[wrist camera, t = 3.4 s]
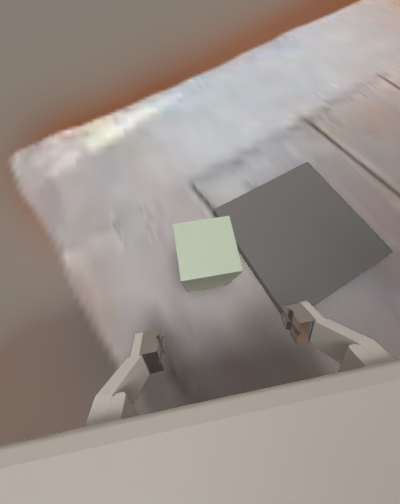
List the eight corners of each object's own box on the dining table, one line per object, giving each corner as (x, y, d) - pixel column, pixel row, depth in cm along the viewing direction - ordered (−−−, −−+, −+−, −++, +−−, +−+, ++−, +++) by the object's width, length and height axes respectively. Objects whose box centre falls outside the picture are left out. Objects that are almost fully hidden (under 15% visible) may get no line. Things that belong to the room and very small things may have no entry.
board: (303, 166, 27) (307, 161, 26) (385, 254, 23) (393, 251, 22) (213, 213, 25) (214, 209, 24) (286, 320, 21) (290, 321, 20)
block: (219, 246, 23) (229, 215, 16) (228, 284, 22) (242, 270, 14) (181, 252, 23) (172, 224, 16) (187, 291, 22) (180, 281, 14)
